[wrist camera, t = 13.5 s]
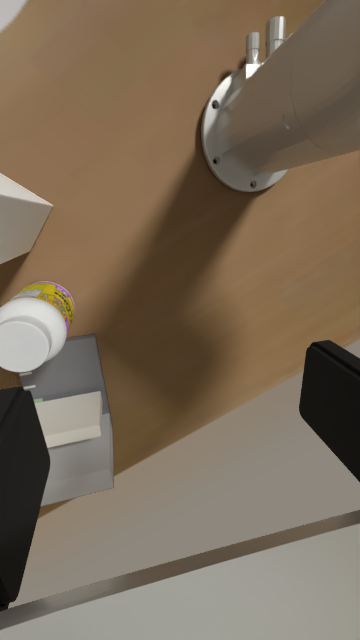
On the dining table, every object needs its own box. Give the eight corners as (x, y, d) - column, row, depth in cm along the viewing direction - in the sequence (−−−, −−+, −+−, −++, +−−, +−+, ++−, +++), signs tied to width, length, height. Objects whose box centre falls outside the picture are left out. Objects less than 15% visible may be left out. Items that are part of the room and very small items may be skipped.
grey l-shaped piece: (14, 346, 36) (-23, 396, 26) (95, 333, 38) (91, 376, 28) (42, 439, 42) (21, 511, 31) (112, 424, 44) (113, 487, 33)
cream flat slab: (17, 406, 37) (-2, 446, 31) (100, 390, 39) (99, 424, 33) (20, 416, 38) (2, 457, 31) (102, 400, 40) (101, 435, 33)
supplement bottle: (81, 324, 38) (70, 373, 26) (28, 335, 36) (-9, 392, 25) (67, 274, 35) (47, 303, 23) (10, 285, 34) (-41, 320, 22)
